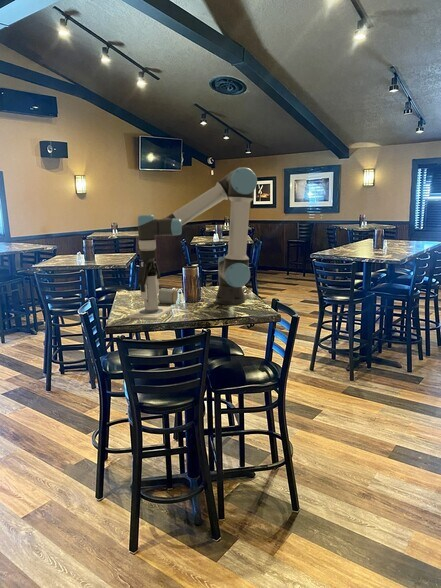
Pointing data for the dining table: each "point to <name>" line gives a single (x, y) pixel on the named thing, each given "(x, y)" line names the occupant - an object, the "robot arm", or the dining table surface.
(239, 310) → the dining table surface
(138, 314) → the beige plate with hole
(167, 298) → the ceramic mug
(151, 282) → the travel mug
